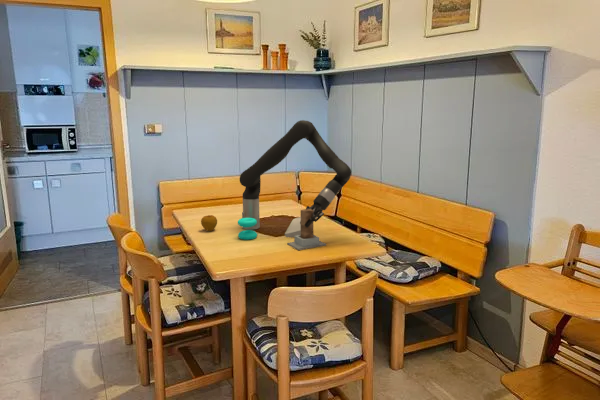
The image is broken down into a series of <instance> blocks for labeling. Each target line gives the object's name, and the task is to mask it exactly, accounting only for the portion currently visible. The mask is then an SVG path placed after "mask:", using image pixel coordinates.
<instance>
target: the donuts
mask: <svg viewBox="0 0 600 400" xmlns="http://www.w3.org/2000/svg"><path fill="white" fill-rule="evenodd" d="M256 224H257V220H256V219H254V218H242V217H241V218H239V219H238V220H237V225H238V226H240V227H253V226H255V225H256ZM237 237H238V239H240V240H244V241H246V240H247V241H248V240H249V241H250V240H254V239H256V238H257V237H258V233H257V232H256V230H254V229H253V230H248V229H242V230H241V231H239V232H238V233H237Z"/></svg>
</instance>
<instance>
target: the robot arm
mask: <svg viewBox="0 0 600 400" xmlns="http://www.w3.org/2000/svg"><path fill="white" fill-rule="evenodd" d="M294 123H295V122H294ZM301 140H307V141H308V142H309V143H310V144H311V145H312V146H313V148H314V149H315V150H316V152H317V154H318V156H319V157H320V159H321V160H322V162H324V163H325V164H326V166H327V167H328V168H329V169H332V170H333V171H334V172H335V173H336V174H335V175H334V177H333V178H332V179H331V180H329V181H328V182H327V184H326V185H325V186H324V187H323V189H321V190H320V192H319V193H318V194H317V195H316V197H315V198H314V199H313V204H312V205H311V206H309V205H307V206H306V207H305V209H311V210H313V213H312V214H311V217H310V218H309V219H310V220H309V219H308V221H307V222H306V223H305V226H306V227H307V228H308V227H309V226H310V224H311V223H312V222H313V223H314V222H315V223H316V222H317V221H319V220H320V219H321V218H322V217H323V216H324V215H325V213H324V212H323V211H326V210H327V209H328V207H329V206H330V205H331V203H332V202H333V201H334V200H335V197H336V196H337V195H338V194H339V193H340V190H341V189H342V188H343V187H344V186H345V185H347V183H348V182H349V180H350V179H351V177H352V169H351V168H350V166H349V165H348V164H347V163H346V162H344V160H342V159H341V158H340V157H339V156H338V155H337V154H336V153H335V152H334V151H333V149H332V148H331V147H330V146H329V145H328V144H327V142H325V140H324V139H323V138H322V136H321V134H320V133H319V132H318V130H317V128H316V127H315V125H314V123H313V122H311V121H310V120H304V119H302V120H298V121H296V123H295V124H293V125H292V127H291V128H290V129H289V130H288V132H286V134H284V136H282V137H281V138H280V139H279V140H277V141H276V143H274V144H273V145H271V146H270V147H269V148H268V149H267V150H266V151H265V152H264V153H263V154H262V155H261V156H260V157H259V158H258V159H257V161H256V162H255V163H253V164H252V165H251V166H249V167H247V169H245V170H243V171H242V172H241V174H240V175H239V183H240V185H241V186H242V187H244V191H243V192H242V212H241V218H254V219H256V220H257V224H256V225H255V226H253V227H242V230H253V231H254V230H258V229H260V194H261V184H262V183H261V182H262V181H261V176H262V175H263V174H265V173H266V172H268V171H269V170H271V169H273V168H275V167H276V166H277V165H279V164H280V163H281V162H282V161H283V160H284V159H285V158H286V157H287V156H288V154H289V153H290V152H291V150H292V148H293V147H294V146H295V145H296V144H297V143H299V142H300V141H301ZM312 217H313V218H312ZM300 224H301V222H300Z"/></svg>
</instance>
